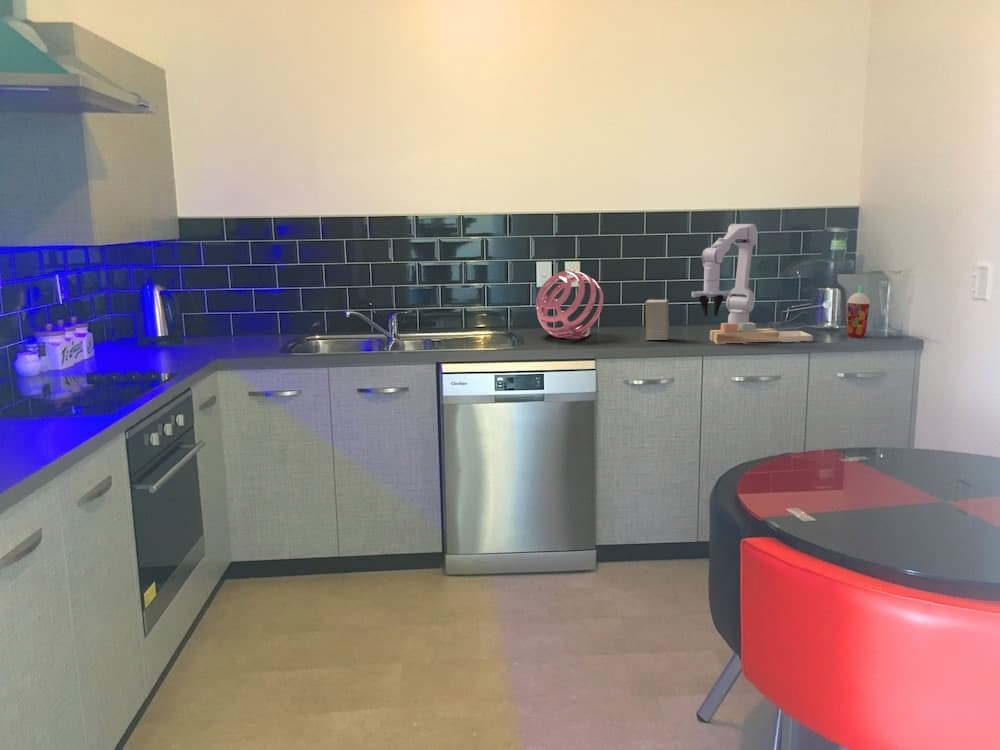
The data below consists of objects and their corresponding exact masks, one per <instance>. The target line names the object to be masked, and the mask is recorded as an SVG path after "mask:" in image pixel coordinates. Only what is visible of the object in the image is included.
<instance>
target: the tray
mask: <svg viewBox="0 0 1000 750" xmlns="http://www.w3.org/2000/svg"><path fill="white" fill-rule="evenodd" d="M779 332H780V333H779V341H781V342H795V343H801V342H800V341H807V342H806V343H810V342H809V341H813V342H814V335H813V334H810V333H807V332H805V331H802V330H791V331H790V330H787V331H779Z"/></svg>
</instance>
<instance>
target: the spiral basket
mask: <svg viewBox="0 0 1000 750" xmlns="http://www.w3.org/2000/svg"><path fill="white" fill-rule="evenodd" d="M569 276H573V277H570V278H569ZM560 280H561V281H562V282H561V283H560V284H558V285H557V286H556V287H555V288H554V289H553V290H552V291H551V293H550V294H549V296H548V294H547V292H549V290H550V289H551V287H552V286H554V285H555V284H556V283H557V282H558V281H560ZM585 281H588V283H589V285H590V286H589V287H590V295H589V300H588V302H587V304H586V306H585V307H584V310H583V311H582V313H580V314H579V316H577V318H576V319H574V320H572V321H569V320H568V319H569V317H570V316H571V315H573V314H574V312H575V311H576V310H577V309H578V307H579V306H580V305H581V303H582V301H583V299H584V297H585V290H586V288H585V287H586V285H585ZM575 282H577V284H578V288H577V289H578V290H577V294H576V296H575V299H574V301H573V302H572V303H571V305H570V306H569V307H567V309H566V310H562V309H561V305H562V304H564V303H565V302H566V301H567V299H568V297H569V296H570V294H571V291H572V283H575ZM596 287H597V288H596ZM597 289H598V291H599V292H598V293H599V302H598V305H597V307H596V311H595V313H594V314H593V316H592V317H591V318H590V320H589V321H588V322H587V323H586V324H585V325H580V324H581V323H582V322H583V321H584V320H585V319H586V318H587V317H588V315H589V314H590V312H591V311H592V309H593V307H594V305H595V301H596V297H597ZM562 290H563V292H562V293H561V296H560V297H558V298H556V295H558V294H559V292H560V291H562ZM603 304H604V293H603V291H602V288H601V286H600V284H599V283H598V281H596V280H595V279H594V278H592V277H590V276H589V275H588V274H587V273H584V272H581V271H576V270H574V271H573V270H572V271H571V270H565V271H564V270H563V271H559V272H558V273H555V274H554V275H552V276H550V277H549V278H548V279H546V280H545V282H544V283H543V285H541V287H540V288H539V291H538V292H537V296H536V298H535V310H536V314H537V315H536V316H537V320H538V321H539V323H540V325H541V327H542V328H543V329H544V330H545V331H546V332H547V333H548V334H550V335H551V336H552V337H554V338H557V339H560V338H565V339H564V340H566V339H573V338H577V339H578V338H579V339H585V338H587V337H588V336H589V334H591V333H590V332H591V331H590V330H591V328H592V326H593V325H594V323H595V322H596V321H597V319H599V318H598V317H599V316H600V313H601V312H602V309H603ZM553 309H555V310H556V312H557V314H556V315H548V313H549V312H548V311H549V310H553ZM556 322H557V323H558V322H562V324H563V325H562V326H560V327H550V326H548V323H556ZM577 326H578V327H577ZM585 332H586V333H585ZM584 333H585V334H584ZM584 337H585V338H584Z"/></svg>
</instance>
